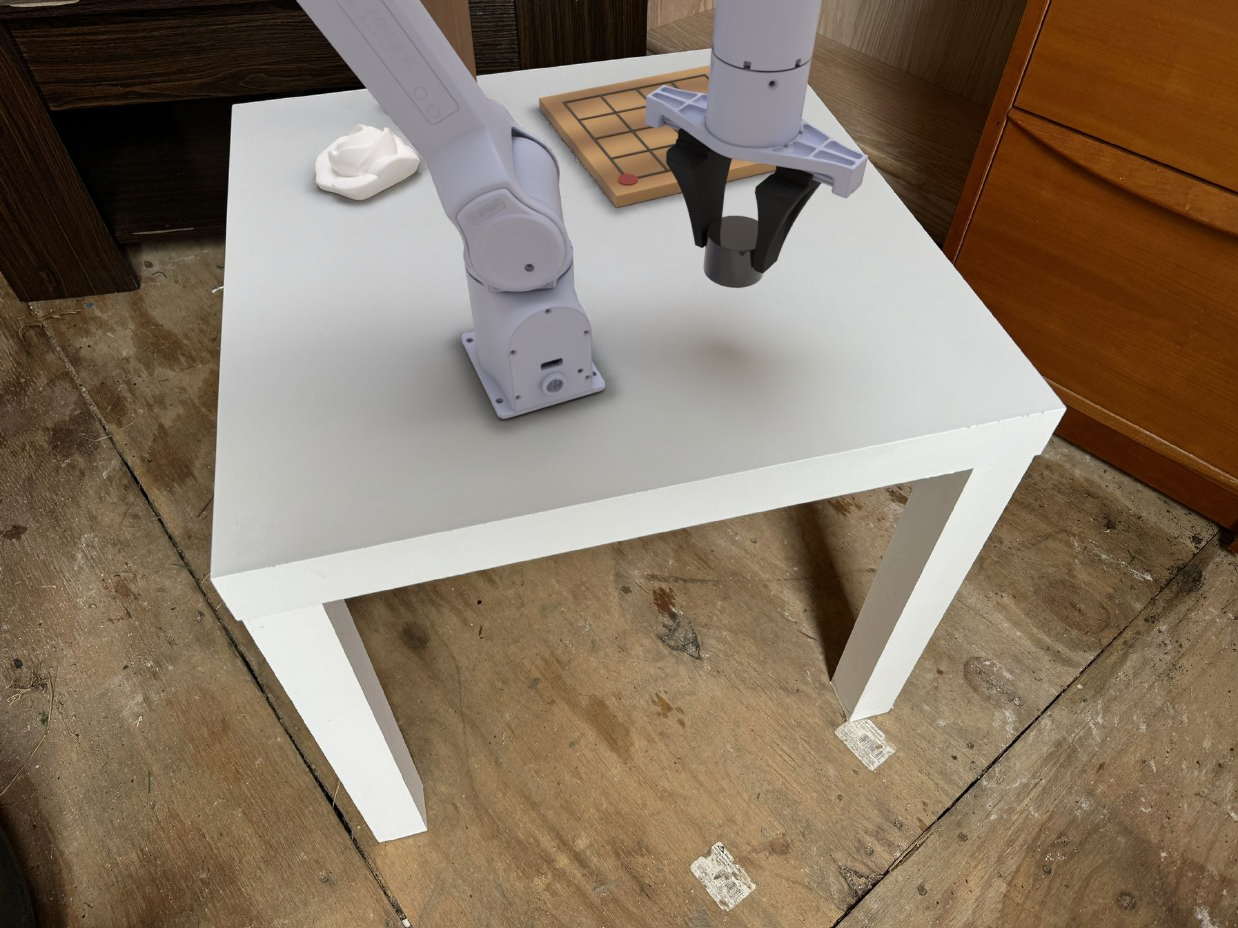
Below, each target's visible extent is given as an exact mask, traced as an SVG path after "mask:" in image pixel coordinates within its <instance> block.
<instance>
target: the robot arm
mask: <svg viewBox="0 0 1238 928" xmlns="http://www.w3.org/2000/svg"><path fill="white" fill-rule="evenodd" d="M822 1H823V0H715V7H714V16H713V17H714V19H713V32H712V40H711V42H712V43H711V48H710V50H711V51H710V60H709V61H710V62H709V65H710V73H709V85H708V94H704V93H697V92H690V91H685V90H680V89H676V88H672V87H669V86H666V85H663V86H661V87H660V88H658V89H657V90H655V91H654V92H652V93H650V94H649V95H647V96H646V117H645V124H646V125H648V126H651V127H654V128H661V127H662V126H663V125H665V126H668V127H670V128H673V129H676V130H678V139H676V144H675V145H673V146H672V147H671V148H669V149H668V150H667V152H666V164H667V165H668V167H669V168H670V170H671V171H672V173H673V175H674V177H675V179H676V180H677V182H678V185H679V187H680V189H681V191H682V192H681V193H682V196H683V199H684V202H685V205H686V209H687V213H688V216H689V221H690V225H691V231H692V236H693V242H694V246H696V247H698V248H701V249H704V248H705V245H706V235H707V228H708V226H709V225H710V224H711V223H712V222H713V221H714V220H716V219H719V218H721V217H723V215H724V214H723V213H724V203H725V193H726V185H727V177H728V173H729V169H730V165H731V161H732V158H733V159H737V160H742V161H749V162H755V163H761V164H767V165H774V166H776V170H775V171H774V172H773V173H770V174H769V175H768V176H767V177H765V178H764V179H762V181H761V182H759V183H758V184H757V185H756V186H755V188H754V195H755V201H756V208H757V220H758V234H757V241H756V247H755V253H754V259H753V265H754V271H757V272H759V273H764V274H765V273H766V272H767V271H768V270H769V269H770V268H771V267H772V266H773V265H774V264H776V263H777V261H778V259H779V256H780V254H781V252H782V248H783V246H784V244H785V241H786V240H787V237H788V235H789V233H790V231H791V229H792V227H793V225H794V223H795V222H796V220H797V218H798V217H799V215H800V213H801V212H802V211H803V209H804V207H805V206H806V205H807V203H808V202H809V201H810V199H811V198H812V196H813V195H814V194H815V192H816V191H817V190H818V189H819V188H820V186H821V185H822V184H823V185H826V186H829V187H831V193H832V194H833V195H835V196H838V197H841V198H843V199H848V198H849V197H850V196H851V195H853V193H855V192H856V191H857V190H858V189H859V188H860V187H861V186H862V184H863V180H864V177H865V173H866V167H867V163H868V159H869V155H868V154H865V153H863V152H861V151H858V150H856V149H853V148H852V147H849V146H847V145H845V144H844V143H841V142H840V141H838V140H837V139H835V138H834V137H833V136H830V135H829V134H827V133H826V132H824V131H822V130H821V129H819V128H818V127H816V126H814V125H813V124H811V123H809V122H808V121H806V120H804V119H803V113H804V108H805V107H804V106H805V101H806V95H807V94H806V93H807V90H808V89H807V88H808V82H809V77H810V71H811V65H812V59H813V54H814V49H815V42H816V37H817V31H818V24H819V21H820V20H819V19H820V13H821V8H822ZM296 2H297V4H299V6H300V7H301V8H302V9H303V11H304V12H305V13H306V15H307V16H308V17H309V18H310V19H311V20H312V22H313V23H314V24H315V26H316V27H317V28H318V29H319V31H320V32H321V33H322V34H323V36H324V37H325V38H326V39H327V41H328V42H329V43H330V45H331V46H332V47H333V49H335V51H336V52H337V53H338V54H339V56H340V57H341V59H342V60H343V61H344V63H346V64H347V66H348V67H349V68H350V70H351V71H352V72H353V74H355V76H356V77H357V78H358V80H359V81H360V82H361V84H362V85H363V86H364V87H365V88H366V90H367V91H368V92H369V93H370V94H371V96H372V97H373V98H374V99H375V101H376V102H377V103H378V104H379V106H380V108H382V110H383V111H384V112H385V113H386V114H387V116H388V117H389V118H390V120H391V121H392V122H393V123H394V125H395V126H396V127H397V128H398V130H399V131H400V132H401V133H402V134H403V136H404V137H405V138H406V140H407V141H408V142H409V143H410V145H411V146H412V147H413V148H414V149H415V151H416V152H417V153H418V154H419V156H420V157H421V158H422V160H423V161H424V162H425V164H426V166H427V169H428V172H429V174H430V176H431V179H432V182H433V185H434V187H435V190H436V193H437V196H438V198H439V201H440V204H441V207H442V209H443V211H444V214H445V215H446V217H447V218H448V220H449V221H450V222H451V223H452V225H453V226H454V227H455V229H456V230H457V231H458V233H459V235H460V237H461V240H462V244H463V253H462V254H463V256H462V257H463V262H464V270H465V277H466V283H467V290H468V295H469V296H468V297H469V303H470V310H471V318H472V324H473V330H471V331H468V332H464V333H463V334H461V343H462V345H463V347H464V349H465V351H466V353H467V355H468V357H469V360H470V361H471V364H472V366H473V368H474V370H475V372H476V374H477V376H478V378H479V380H480V382H481V384H482V386H483V388H484V390H485V392H486V394H487V397H488V399H489V401H490V403H491V405H492V407H493V409H494V411H495V413H496V415H497V417H498V418H499V419H502V420H507V419H510V418H514V417H517V416H520V415H524V414H527V413H530V412H534V411H537V410H540V409H544V408H548V407H550V406H551V407H552V406H554V405H558V404H561V403H565V402H567V401H570V400H574V399H578V398H581V397H585V396H588V395H591V394H595V393H598V392H601V391H603V390H605V388H606V381H605V379H604V378H603V376H602V375H601V373H600V372H599V370H598V368H597V367H596V365H595V363H594V362H593V336H592V335H593V331H592V323H591V321H590V318H589V316H588V315H587V313H586V311H585V310H584V308H583V306H582V304H581V302H580V300H579V297H578V295H577V291H576V287H575V265H574V262H575V261H574V247H573V243H572V241H571V239H570V237H569V235H568V231H567V229H566V225H565V219H564V212H563V205H562V197H561V190H560V177H561V176H560V175H561V174H560V173H561V171H560V165H559V161H558V158H557V157H556V154H555V152H554V151H553V149H552V148H551V146H549V145H548V143H547V142H545V141H544V140H543V139H542V138H541V137H539V136H538V135H536V134H534V133H532V132H530V131H529V130H527V129H525V128H523V127H522V126H521V125H520V124H519V123H518V122H517V121H516V120H515V119H514V118H513V116H512V115H511V113H510V112H509V110H508V109H507V107H506V106H505V105H503V104H502V103H500V102H497V101H495V100H493V99H491V98H489V97H488V96H486V94H485V92H484V91H483V90H482V88H481V87H480V85H479V84H478V81H477V82H476V81H475V80H474V78H473V77H472V75H471V74H470V72H469V71H468V69H467V68H466V67H465V65H464V64H463V62H462V61H461V59H460V58H459V56H458V55H457V54H456V52H455V51H454V49H453V48H452V46H451V45H450V44H449V42H448V41H447V39H446V38H445V36H444V35H443V33H442V32H441V31H440V29H439V28H438V26H437V25H436V23H435V22H434V20H433V19H432V18H431V16H430V15H429V13H428V12H427V10H426V9H425V7H424V6H423V5H422V3H421V2H420V0H296Z"/></svg>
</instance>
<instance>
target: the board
mask: <svg viewBox="0 0 1238 928" xmlns="http://www.w3.org/2000/svg"><path fill="white" fill-rule="evenodd" d="M709 73H710V64H709V65H703V66H699V67H693V68H688V69H684V70H678V71H673V72H668V73H663V74H657V75H652V76H647V77H641V78H636V79H631V80H626V81H621V82H620V81H619V82H616V83H615V82H614V83H611V84H606V85H605V84H604V85H599V86H595V87H590V88H584V89H579V90H575V91H574V90H573V91H569V92H563V93H559V94H554V95H549V96H543V97H539V98H538V104H539V105H538V107H539V108H538V109H539V110H540V111H541V113H542V115H544V117H545V118H546V119H547V121H548V122H549V123H550V124H551V126H552V127H553V128H554V130H555V131H556V133H558V135H559V136H560V137H561V139H562V140H563V141H564V143H565V144H566V145H567V146H568V148H569V149H570V150H571V151H572V153H573V154H574V155H575V157H576V158H577V159H578V160H579V161H580V163H581V164H582V165H583V167H584V168H585V169H586V171H587V172H588V173H589V174H590V176H591V177H592V178H593V179H594V181H595V182H596V183H597V185H598V186H599V187H600V189H601V190H602V191H603V192H604V193H605V195H606V196H607V197H608V199H609V200H610V201H611V202H612V204H613V205H614V206H615V208H621V207H626V206H629V205H633V204H634V205H635V204H638V203H642V202H647V201H650V200H655V199H659V198H664V197H667V196H671V195H672V196H673V195H676V194H681V193H682V191H681V189H680V187H679V185H678V182H677V180H676V179H675V177H674V175H673V173H672V171H671V170H670V168H669V167H668V165H667V164H666V152H667V150H668V149H669V148H671V147H672V146H673V145H675V144H676V139H678V130H676V129H673V128H670V127H668V126H665V125H663V126H662V127H661V128H654V127H651V126H648V125H646V124H645V117H646V96H647V95H649V94H650V93H652V92H654V91H655V90H657V89H658V88H660V87H661V86H663V85H666V86H669V87H672V88H676V89H680V90H685V91H690V92H697V93H704V94H708V85H709ZM775 171H776V166H774V165H767V164H761V163H755V162H749V161H742V160H737V159H733V158H732V161H731V165H730V169H729V173H728V177H727V182H731V181H732V182H733V181H737V180H741V179H744V178H749V177H753V176H757V175H761V174H766V173H771V172H775ZM727 182H726V183H727Z"/></svg>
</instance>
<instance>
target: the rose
mask: <svg viewBox="0 0 1238 928" xmlns="http://www.w3.org/2000/svg"><path fill="white" fill-rule="evenodd" d="M420 162H421V159H420V158H419V157H418V155H417V153H416V152H415V151H414V150H413V148H412V147H410V146H408V145H406V144H405V143H404V141H403V140H402V139H401V138H400V137H399V136H398V135H396V134H394V133H393V132H392V130H391V129H390V128H389V127H384V128H383V130H380V128H376V127H374V126H371V125H368V126H367V125H365V124H362V123H358V124H356V125H354V127H353V128H352V130H351V132H350V134H349V135H342V136H340V137H337V138H336V139H335V140H334V141H333V142H332V143H331V144H330V145H329V146H328V147H326V148H325V149H324V150H323V151H322V152H321V153H320V154H319V155H318V156H317V157H316V160H315V162H314V172H315V175H316V176H315V183H316V185H317V186H318V187H319V188H320V189H321V190H322V191H326V192H330V193H335V194H338V195H340V196H344V197H346V198H348V199H351V200H355V201H364V200H366V199H369V198H371V197H373V196H375V195H377V194H379V193H381V192H382V191H384V190H387V189H388V188H390V187H392V186H394V185H396V184H399V183H400V182H403V181H404V180H406V179H408V178H409V177H410V176H412V175H413V174H414V173H415V172H416V171H418V169H419V168H418V166H419V164H420Z"/></svg>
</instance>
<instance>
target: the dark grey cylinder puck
mask: <svg viewBox="0 0 1238 928" xmlns="http://www.w3.org/2000/svg"><path fill="white" fill-rule="evenodd" d="M757 234H758V219H755V218H753V217H750V216H745V215H726V216H722V217H721V218H719V219H716V220H714V221H713V222H712V223H711V224H710V225H709V226H708V228H707V235H706V245H705V247H704V256H703V267H702V268H703V271H704V274H705V276H706V277H707V278H708V280H710V281H711V282H712V283H714V284H716V285H718V286H722V287H725V288H731V289H742V288H748V287H752V286H753V285H755V284H757V283H759V282H760V281H761V280H762V279H763V277H764V274H765V272H764V273H759V272H757V271H754V265H753V259H754V253H755V247H756V241H757Z"/></svg>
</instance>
